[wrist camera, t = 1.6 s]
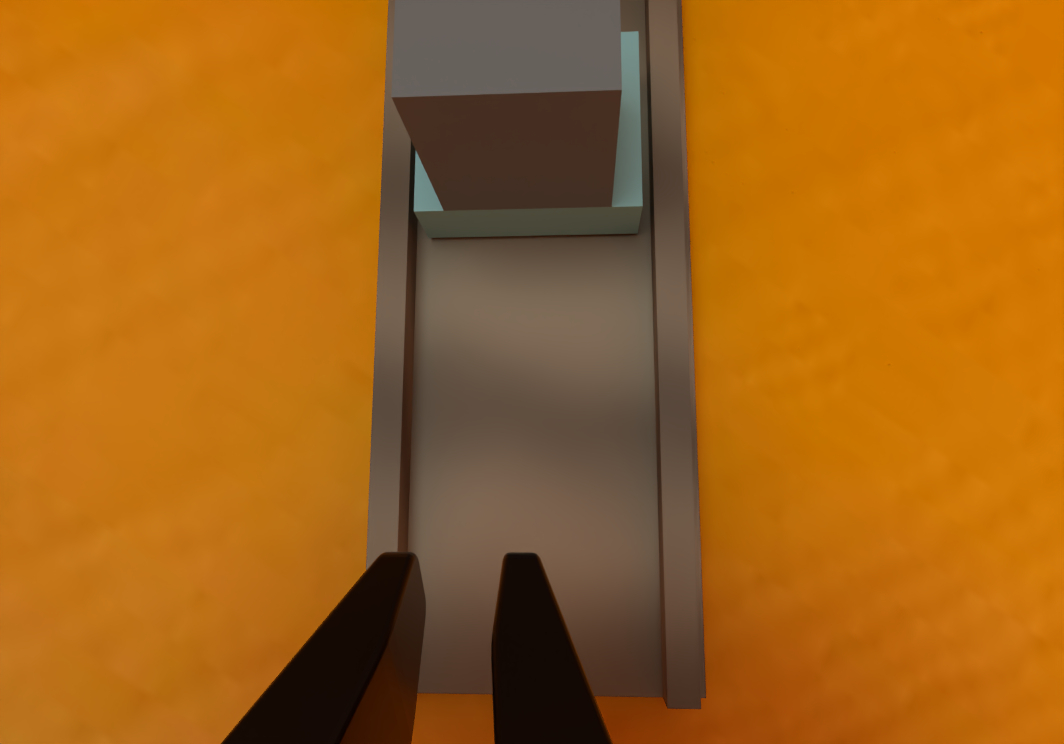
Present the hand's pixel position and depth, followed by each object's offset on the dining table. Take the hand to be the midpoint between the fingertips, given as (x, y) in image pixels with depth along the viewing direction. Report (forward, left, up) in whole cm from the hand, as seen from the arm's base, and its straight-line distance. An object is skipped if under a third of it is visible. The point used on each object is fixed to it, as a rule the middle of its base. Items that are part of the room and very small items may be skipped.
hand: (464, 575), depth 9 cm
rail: (+7, -5, -14) cm, 16 cm away
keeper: (+9, -6, -12) cm, 16 cm away
